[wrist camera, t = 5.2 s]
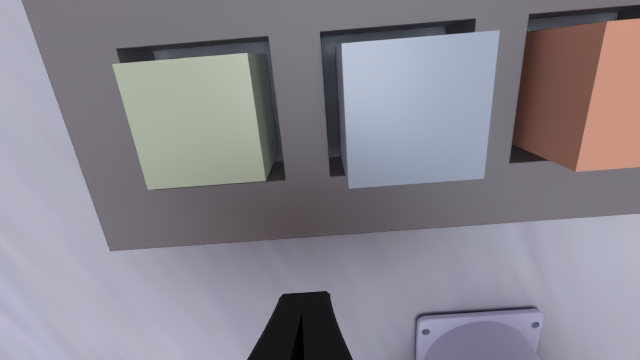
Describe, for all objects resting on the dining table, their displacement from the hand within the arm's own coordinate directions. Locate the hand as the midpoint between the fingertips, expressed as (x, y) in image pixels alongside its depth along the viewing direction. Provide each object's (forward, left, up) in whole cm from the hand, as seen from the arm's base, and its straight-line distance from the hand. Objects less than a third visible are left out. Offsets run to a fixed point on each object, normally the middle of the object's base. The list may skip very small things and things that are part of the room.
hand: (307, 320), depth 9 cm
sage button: (+5, +4, -9) cm, 11 cm away
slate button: (+5, -4, -8) cm, 10 cm away
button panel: (+5, -4, -9) cm, 11 cm away
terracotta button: (+5, -12, -8) cm, 15 cm away
